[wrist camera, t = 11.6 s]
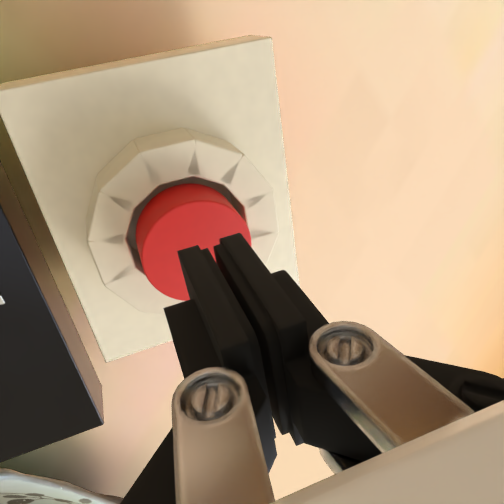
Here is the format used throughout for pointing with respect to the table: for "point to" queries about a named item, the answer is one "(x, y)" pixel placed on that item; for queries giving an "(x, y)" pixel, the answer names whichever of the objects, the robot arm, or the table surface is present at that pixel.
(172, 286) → the igniter button
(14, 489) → the salad plate
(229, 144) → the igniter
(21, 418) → the hob panel
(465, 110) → the table surface
